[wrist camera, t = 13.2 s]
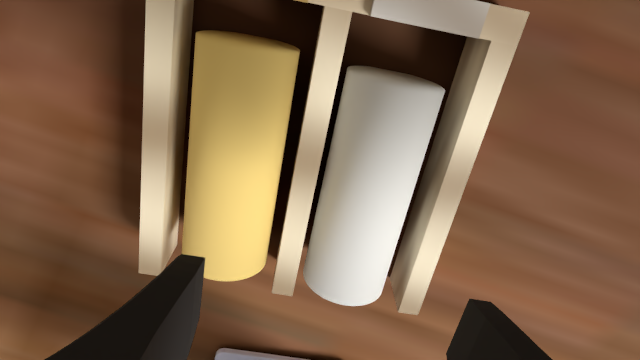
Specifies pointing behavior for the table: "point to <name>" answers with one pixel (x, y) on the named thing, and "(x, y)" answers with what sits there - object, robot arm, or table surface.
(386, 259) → the tall white tube
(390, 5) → the rack
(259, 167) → the pale yellow cylinder
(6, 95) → the table surface
